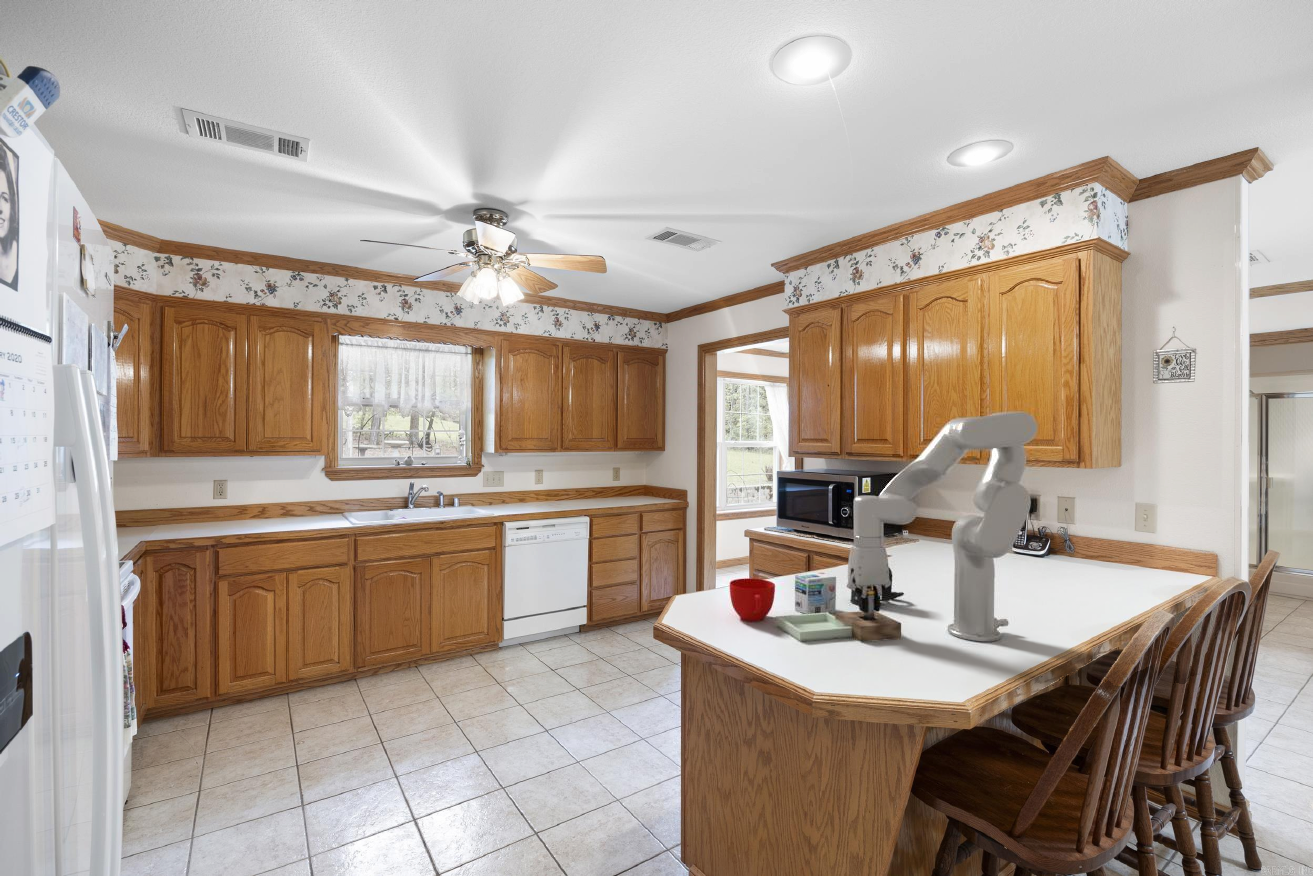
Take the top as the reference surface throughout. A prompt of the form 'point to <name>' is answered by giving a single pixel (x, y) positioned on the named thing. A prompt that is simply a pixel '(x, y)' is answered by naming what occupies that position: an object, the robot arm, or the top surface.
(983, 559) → the robot arm
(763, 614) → the ceramic cup
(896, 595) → the milk frother
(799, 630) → the tray
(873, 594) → the pin
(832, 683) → the top surface
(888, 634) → the block
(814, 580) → the light bulb box
